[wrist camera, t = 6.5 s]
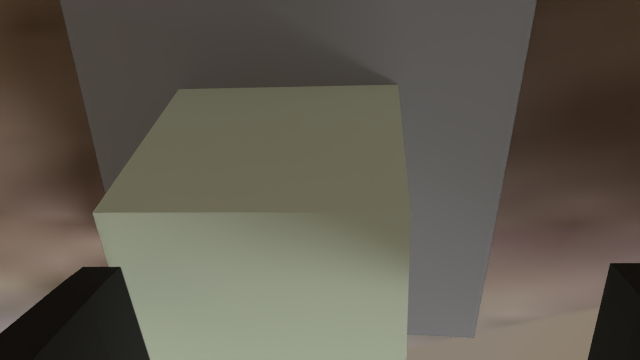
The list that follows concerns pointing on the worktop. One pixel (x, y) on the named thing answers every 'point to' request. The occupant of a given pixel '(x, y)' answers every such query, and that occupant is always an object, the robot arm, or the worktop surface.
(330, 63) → the charcoal plinth
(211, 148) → the sage block
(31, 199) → the worktop surface
